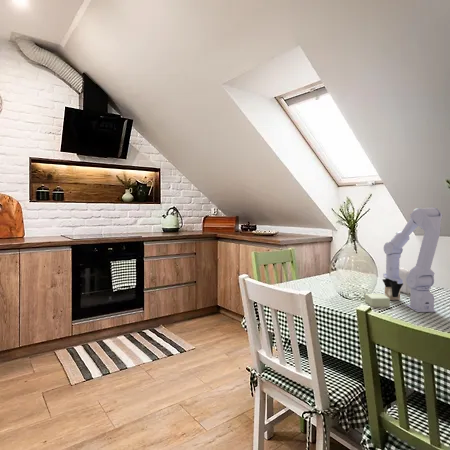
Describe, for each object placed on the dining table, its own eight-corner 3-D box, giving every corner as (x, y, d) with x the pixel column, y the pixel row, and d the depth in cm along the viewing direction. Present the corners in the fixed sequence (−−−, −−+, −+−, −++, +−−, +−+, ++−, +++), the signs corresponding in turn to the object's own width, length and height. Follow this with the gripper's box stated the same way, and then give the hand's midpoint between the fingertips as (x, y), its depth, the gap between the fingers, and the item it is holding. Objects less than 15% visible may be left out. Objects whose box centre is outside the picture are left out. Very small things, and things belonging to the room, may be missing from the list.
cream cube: (400, 299, 166) (400, 289, 166) (389, 299, 166) (389, 289, 166) (394, 296, 171) (394, 286, 171) (384, 297, 171) (384, 286, 171)
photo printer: (412, 293, 178) (413, 269, 178) (406, 293, 177) (406, 269, 176) (397, 288, 188) (397, 265, 188) (390, 289, 187) (391, 266, 186)
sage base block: (389, 307, 156) (389, 298, 156) (371, 307, 157) (371, 298, 156) (382, 302, 164) (382, 293, 164) (365, 302, 164) (365, 293, 164)
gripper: (377, 264, 175) (377, 291, 176) (392, 270, 160) (391, 299, 161) (391, 264, 175) (391, 291, 176) (407, 270, 160) (406, 299, 161)
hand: (392, 295), depth 168 cm, fingers closed on cream cube, 5 cm apart
